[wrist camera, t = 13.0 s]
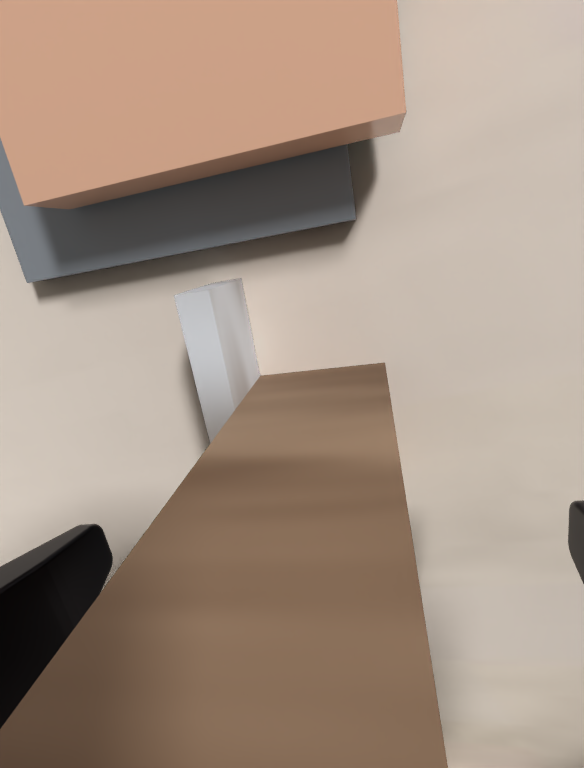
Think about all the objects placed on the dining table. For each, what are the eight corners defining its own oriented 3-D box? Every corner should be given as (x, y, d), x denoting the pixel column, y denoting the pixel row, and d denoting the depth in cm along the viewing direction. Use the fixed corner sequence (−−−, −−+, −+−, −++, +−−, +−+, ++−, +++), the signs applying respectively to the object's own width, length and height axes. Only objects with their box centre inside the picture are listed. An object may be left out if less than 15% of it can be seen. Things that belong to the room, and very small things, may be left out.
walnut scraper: (402, 551, 13) (493, 1311, 4) (271, 553, 14) (89, 1176, 5) (374, 257, 10) (461, 451, 1) (212, 282, 11) (-497, 512, 2)
